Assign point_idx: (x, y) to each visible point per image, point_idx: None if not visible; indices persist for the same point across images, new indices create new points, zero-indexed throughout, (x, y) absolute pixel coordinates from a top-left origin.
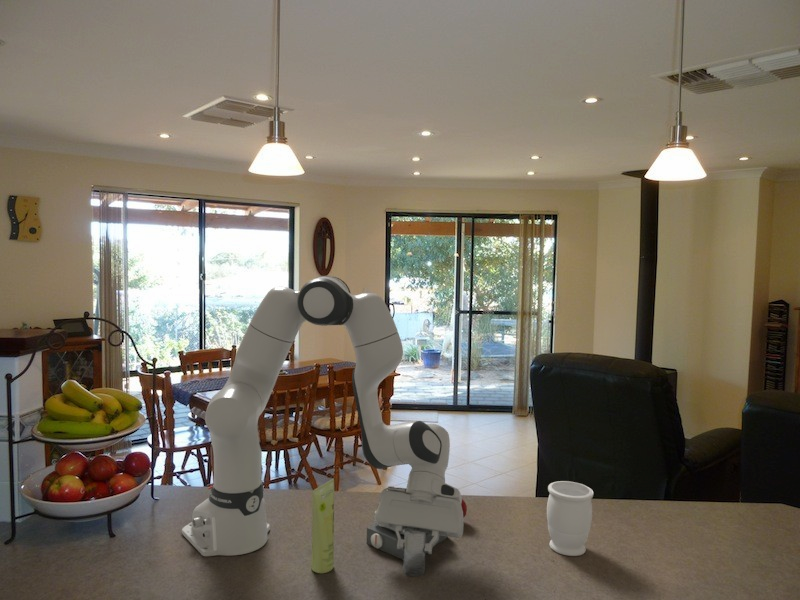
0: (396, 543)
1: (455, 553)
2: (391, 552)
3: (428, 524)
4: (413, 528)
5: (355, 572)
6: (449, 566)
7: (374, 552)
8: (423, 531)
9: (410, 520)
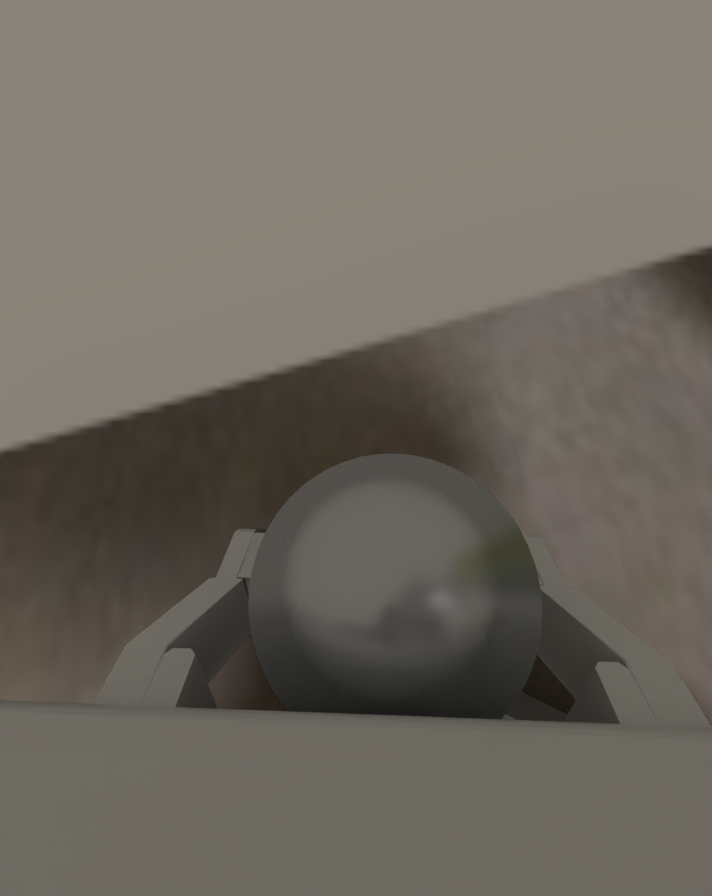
0: None
1: None
2: None
3: (198, 772)
4: (439, 692)
5: (688, 446)
6: None
7: None
8: (285, 638)
9: (540, 816)
